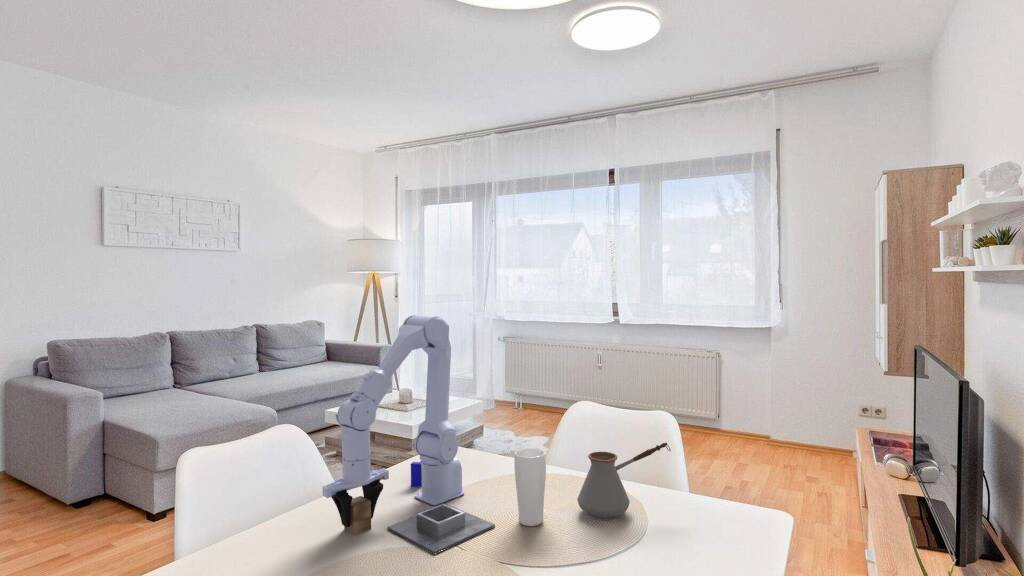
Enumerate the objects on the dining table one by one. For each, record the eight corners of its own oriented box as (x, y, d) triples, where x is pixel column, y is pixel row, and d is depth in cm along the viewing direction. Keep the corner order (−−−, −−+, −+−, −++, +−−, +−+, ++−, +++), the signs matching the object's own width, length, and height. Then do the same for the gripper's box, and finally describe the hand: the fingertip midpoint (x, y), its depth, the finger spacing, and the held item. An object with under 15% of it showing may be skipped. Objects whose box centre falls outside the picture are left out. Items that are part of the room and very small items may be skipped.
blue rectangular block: (421, 470, 153) (421, 449, 153) (437, 471, 153) (437, 450, 152) (405, 486, 142) (405, 463, 142) (422, 487, 141) (421, 464, 141)
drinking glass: (551, 518, 121) (550, 449, 121) (539, 531, 115) (538, 459, 115) (523, 513, 124) (522, 446, 124) (510, 525, 118) (509, 455, 118)
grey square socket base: (446, 506, 128) (446, 492, 128) (494, 527, 117) (494, 512, 117) (387, 529, 117) (387, 514, 117) (434, 554, 106) (434, 538, 106)
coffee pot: (585, 526, 117) (584, 455, 117) (572, 504, 128) (571, 440, 128) (681, 519, 120) (680, 450, 120) (660, 498, 131) (659, 435, 131)
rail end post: (361, 523, 120) (360, 495, 120) (371, 528, 117) (370, 500, 117) (344, 529, 117) (343, 501, 117) (354, 535, 115) (353, 506, 114)
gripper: (375, 445, 125) (377, 505, 125) (314, 461, 115) (316, 526, 115) (393, 452, 120) (394, 514, 120) (331, 469, 110) (333, 537, 110)
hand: (357, 521), depth 117 cm, fingers open, 5 cm apart
